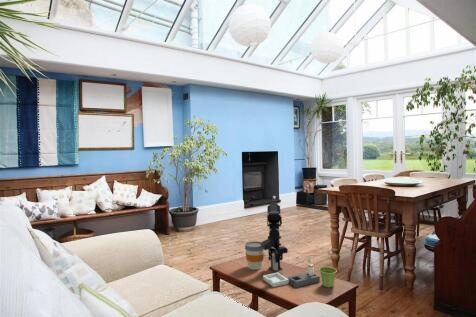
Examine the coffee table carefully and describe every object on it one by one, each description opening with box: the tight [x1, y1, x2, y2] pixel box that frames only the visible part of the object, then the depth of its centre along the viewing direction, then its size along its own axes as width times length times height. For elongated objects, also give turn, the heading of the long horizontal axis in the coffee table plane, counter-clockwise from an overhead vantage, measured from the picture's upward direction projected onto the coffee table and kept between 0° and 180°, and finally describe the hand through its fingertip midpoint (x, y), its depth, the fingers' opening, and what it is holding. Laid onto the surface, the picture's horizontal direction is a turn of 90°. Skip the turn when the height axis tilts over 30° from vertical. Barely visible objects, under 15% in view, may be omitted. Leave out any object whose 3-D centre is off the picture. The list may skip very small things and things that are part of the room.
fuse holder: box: [287, 272, 321, 288], centre depth 177 cm, size 8×16×3 cm, turn 114°
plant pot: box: [318, 266, 338, 288], centre depth 172 cm, size 9×9×9 cm
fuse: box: [307, 263, 315, 277], centre depth 179 cm, size 3×3×9 cm
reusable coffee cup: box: [244, 241, 265, 270], centre depth 203 cm, size 13×13×15 cm
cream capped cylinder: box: [272, 253, 279, 271], centre depth 179 cm, size 3×3×9 cm
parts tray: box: [262, 272, 290, 288], centre depth 179 cm, size 12×10×2 cm
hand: (275, 261), depth 179 cm, fingers closed on cream capped cylinder, 3 cm apart
